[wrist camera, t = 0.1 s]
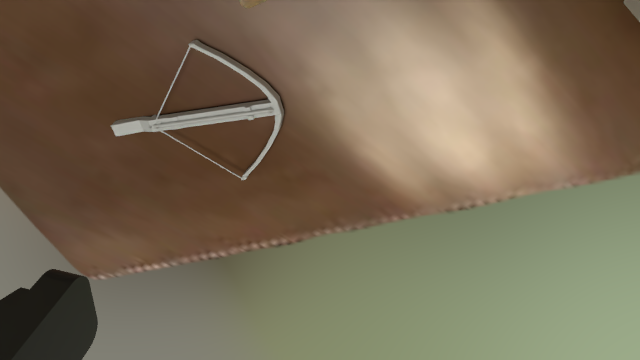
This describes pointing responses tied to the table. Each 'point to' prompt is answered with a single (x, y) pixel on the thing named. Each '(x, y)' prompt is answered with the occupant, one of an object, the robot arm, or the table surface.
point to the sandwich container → (250, 3)
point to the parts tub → (633, 7)
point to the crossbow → (212, 109)
